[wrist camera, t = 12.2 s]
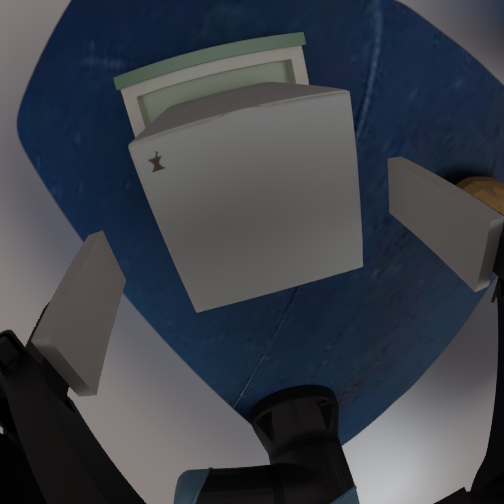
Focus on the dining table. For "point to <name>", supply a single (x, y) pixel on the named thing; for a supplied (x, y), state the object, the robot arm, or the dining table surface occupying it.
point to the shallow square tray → (210, 74)
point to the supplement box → (254, 189)
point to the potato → (485, 191)
